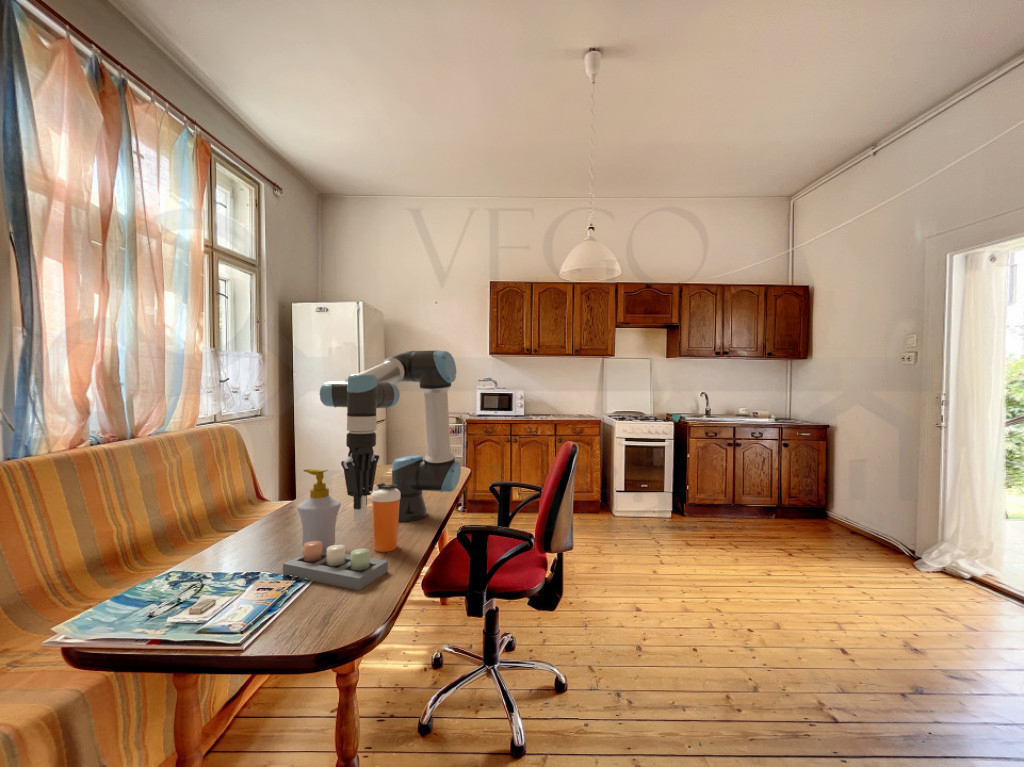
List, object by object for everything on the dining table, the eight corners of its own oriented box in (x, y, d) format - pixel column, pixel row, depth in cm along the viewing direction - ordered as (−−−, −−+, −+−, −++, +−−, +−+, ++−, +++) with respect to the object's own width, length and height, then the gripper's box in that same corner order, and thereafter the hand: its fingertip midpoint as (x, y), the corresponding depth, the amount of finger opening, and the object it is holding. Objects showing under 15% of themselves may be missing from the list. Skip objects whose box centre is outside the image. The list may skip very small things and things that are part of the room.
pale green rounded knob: (358, 562, 125) (358, 547, 125) (373, 564, 123) (373, 549, 123) (346, 568, 120) (346, 553, 120) (361, 571, 119) (361, 556, 119)
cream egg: (335, 557, 128) (335, 543, 128) (349, 560, 126) (349, 546, 126) (322, 564, 123) (322, 549, 123) (336, 566, 122) (337, 552, 122)
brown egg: (312, 553, 130) (312, 540, 130) (326, 556, 129) (326, 542, 129) (299, 560, 126) (299, 545, 126) (313, 562, 124) (313, 547, 124)
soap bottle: (313, 539, 151) (314, 465, 150) (348, 543, 148) (349, 467, 148) (287, 553, 138) (288, 472, 138) (324, 557, 136) (325, 474, 135)
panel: (316, 558, 135) (316, 548, 135) (387, 571, 126) (387, 561, 126) (283, 574, 123) (283, 563, 123) (359, 590, 115) (359, 578, 115)
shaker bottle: (392, 554, 139) (392, 488, 139) (365, 551, 141) (365, 487, 140) (404, 544, 147) (405, 482, 147) (379, 542, 149) (379, 480, 149)
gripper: (365, 429, 129) (364, 512, 129) (332, 433, 117) (331, 525, 117) (388, 430, 127) (386, 515, 126) (356, 434, 114) (355, 529, 114)
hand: (360, 520), depth 122 cm, fingers closed
